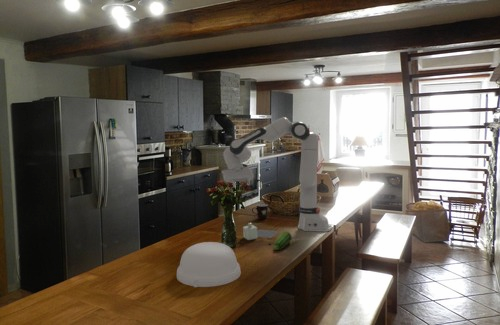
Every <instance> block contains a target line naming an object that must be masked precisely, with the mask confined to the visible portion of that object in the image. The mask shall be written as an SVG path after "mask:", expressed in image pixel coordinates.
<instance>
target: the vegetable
mask: <svg viewBox="0 0 500 325" xmlns="http://www.w3.org/2000/svg"><path fill="white" fill-rule="evenodd" d="M291 241H292V234H291V233H290V232H288V231H283V232H280V234H279V235H278V237H277V239H276V240H275V242H274V244H273V248H274V249H273V250H275V251H282V249H284V248H285V246H288V245H289V244H290V243H291Z"/></svg>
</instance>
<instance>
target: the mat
mask: <svg viewBox="0 0 500 325" xmlns="http://www.w3.org/2000/svg"><path fill="white" fill-rule="evenodd" d="M279 232H280V231H279V230H270V229H260V228H259V229H257V235H258V238H266V239H267V238H269V239H272V238H273V237H274V236H275V235H277V234H278V233H279Z"/></svg>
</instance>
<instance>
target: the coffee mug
mask: <svg viewBox="0 0 500 325" xmlns="http://www.w3.org/2000/svg"><path fill="white" fill-rule="evenodd" d="M268 208H269V205H268V204H266V203H259V204H256V207H253V208H252V209H251V211H252V213H253V214H254V215H257V219H258V220H260V221H261V220H262V221H263V220H267V219H268ZM254 209H255V210H256V212H255V211H254Z"/></svg>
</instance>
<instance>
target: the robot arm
mask: <svg viewBox="0 0 500 325" xmlns="http://www.w3.org/2000/svg"><path fill="white" fill-rule="evenodd" d="M287 134H289V135H290V136H291V137H292V138H295V139H299V140H300V141H301V151H300V153H301V154H300V168H299V176H298V177H299V180H298V181H299V185H300V192H299V193H300V194H299V210H298V212H299V220H298V225H297V228H298V229H299V230H302V231H304V232H320V233H321V232H326V233H327V232H329V231H331V230H332V229H333V228H332V227H333V226H332V225H330V224H329V220H328V218H327V217H326V216H325V215H323V214H322V213H321V210H320V209H321V208H320V207H318V199H317V198H318V194H317V193H318V159H319V138H318V135H317V133H315V132H312V131H311V132H310V130H309V128H308V126H307V124H306V123H304V122H303V121H293V122H292V121H290V119H288V118H287V117H286V116H282V117H280V118H278V119H276V120H274V121H272V122H271V123H269V124H268V125H266V126H263V127H258V128H257V129H254V130H251V131H250V132H249V133H247V134H245V135H243V136H241V137H238V138H236V139H235V138H234V139H233V140H232V141H231V142H230V144H229V147H227V148H225V149H224V151H223V154H222V155H223V159H224V162H225V164H226V166H227V168H226V169H222V170H221V174H222V177H223V181H224V182H225V183H230V184H231V183H233V184H232V185H233V187H234V188H235V186H236V185H237V186H238V184H237V182H245V181H246V185H248V186H251V183H250V182H251V181H252V180H253V179H254V177H255V175H254V172H253V170H252V169H251V168H250V166H249V164H246V163H245V162H247V161H248V160H250V158H251V157H252V151H251V150H250V148H249V147H248V146H249V144H252V143H253V142H256V141H257V140H263V141H265V142H269V143H273V142H275V141H277V140H279V139H281V137H283V136H285V135H287ZM237 186H236V187H237Z"/></svg>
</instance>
